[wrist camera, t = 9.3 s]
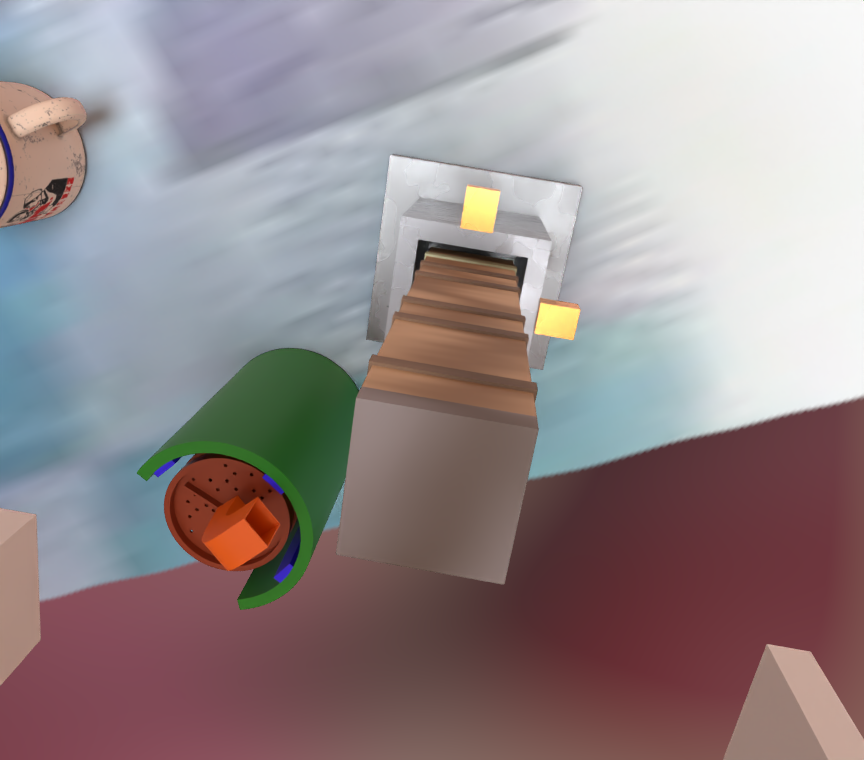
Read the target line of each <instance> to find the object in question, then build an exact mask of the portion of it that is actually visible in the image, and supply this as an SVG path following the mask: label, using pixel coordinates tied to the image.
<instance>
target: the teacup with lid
mask: <svg viewBox="0 0 864 760" xmlns="http://www.w3.org/2000/svg"><path fill="white" fill-rule="evenodd" d="M86 119H87V114H86V112H85V109H84V108H83V106H82V104H81V103H80V102H79V101H78V100H76V99H73V98H67V97H62V98H54V99H52V98H51V97H49V96H48V95H47V94H45V93H43V92H42V91H40V90H38V89H36V88H33V87H31V86H28V85H24V84H20V83H14V82H2V81H0V228H3V227H7V226H12V225H17V224H21V223H26V222H31V221H36V220H40V219H45V218H49V217H51V216H54V215H56V214H58V213H60V212H61V211H63V210H64V209H66V208H67V207H68V206H69V205H70V204H71V203H72V202H73V200H74V199H75V198H76V196H77V194H78V193H79V191H80V188H81V186H82V183H83V179H84V174H85V153H84V148H83V144H82V140H81V138H80V135H79V133H78V130H77V128H79V127H80V126H82V125H83V124H84V122H85V121H86Z"/></svg>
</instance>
